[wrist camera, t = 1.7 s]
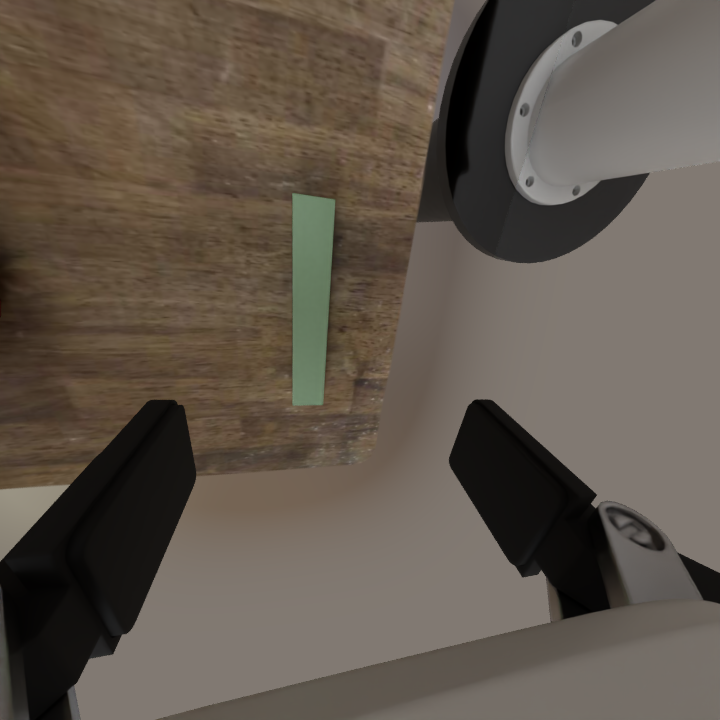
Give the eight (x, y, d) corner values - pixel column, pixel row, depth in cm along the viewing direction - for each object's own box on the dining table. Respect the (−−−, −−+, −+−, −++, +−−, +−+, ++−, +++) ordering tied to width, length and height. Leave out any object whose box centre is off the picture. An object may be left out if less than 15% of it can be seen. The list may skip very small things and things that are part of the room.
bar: (331, 203, 22) (335, 199, 19) (321, 386, 30) (323, 405, 27) (294, 197, 21) (292, 192, 18) (294, 386, 29) (292, 405, 26)
